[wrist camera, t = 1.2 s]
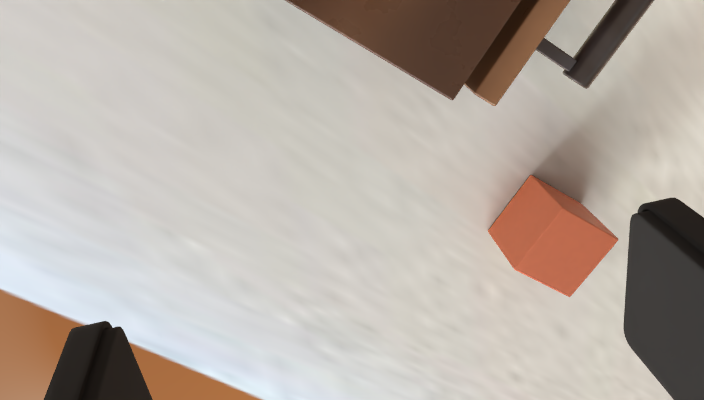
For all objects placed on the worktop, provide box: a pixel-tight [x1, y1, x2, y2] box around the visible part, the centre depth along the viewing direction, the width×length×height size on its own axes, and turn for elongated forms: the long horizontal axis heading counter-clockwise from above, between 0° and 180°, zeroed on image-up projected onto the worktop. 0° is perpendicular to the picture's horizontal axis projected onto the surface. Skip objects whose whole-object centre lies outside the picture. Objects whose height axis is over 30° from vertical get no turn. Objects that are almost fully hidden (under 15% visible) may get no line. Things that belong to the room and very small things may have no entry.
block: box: [488, 175, 618, 297], centre depth 38 cm, size 4×4×4 cm
